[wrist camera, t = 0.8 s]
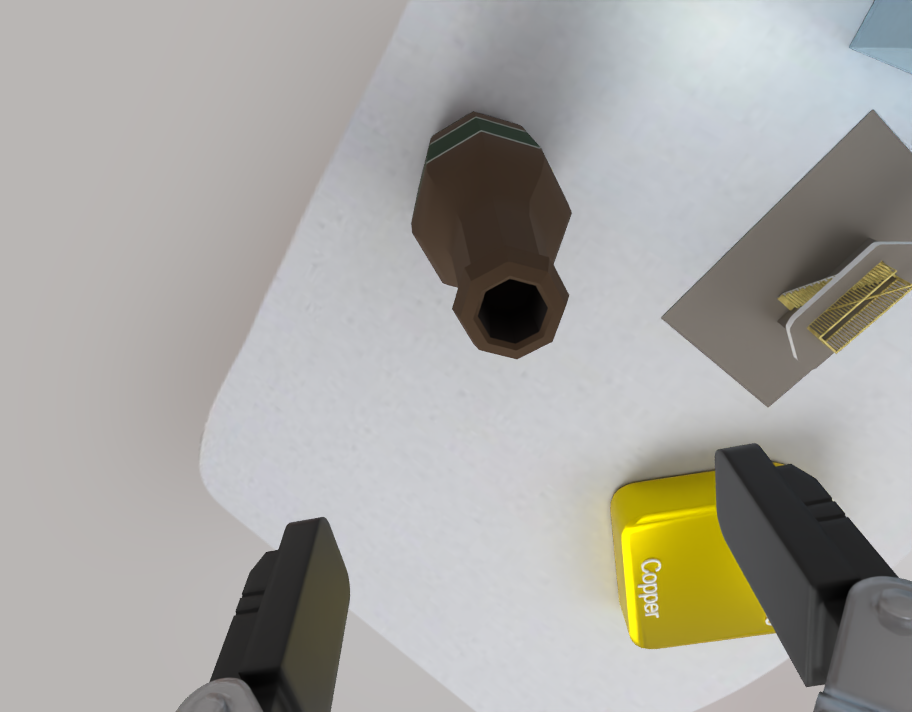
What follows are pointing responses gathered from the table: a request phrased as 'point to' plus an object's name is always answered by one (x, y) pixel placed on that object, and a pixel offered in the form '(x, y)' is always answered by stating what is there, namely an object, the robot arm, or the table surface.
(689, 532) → the element tile
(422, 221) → the beer bottle
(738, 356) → the platform
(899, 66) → the case
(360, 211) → the table surface
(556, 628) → the table surface
